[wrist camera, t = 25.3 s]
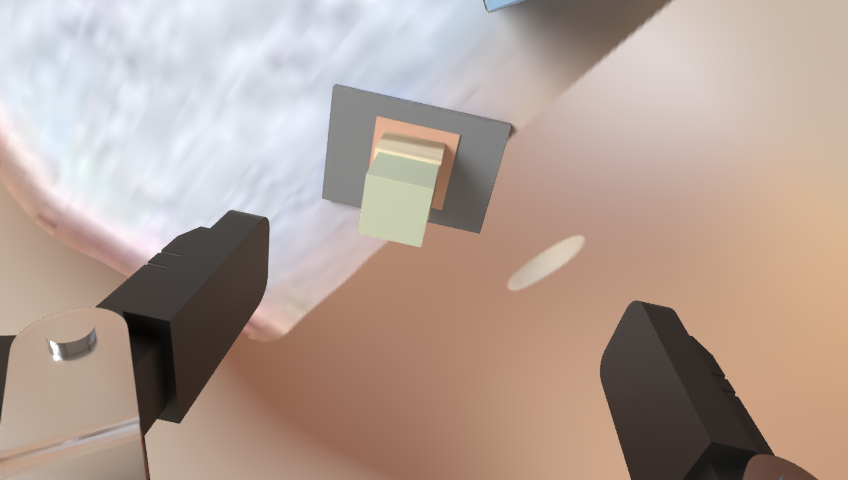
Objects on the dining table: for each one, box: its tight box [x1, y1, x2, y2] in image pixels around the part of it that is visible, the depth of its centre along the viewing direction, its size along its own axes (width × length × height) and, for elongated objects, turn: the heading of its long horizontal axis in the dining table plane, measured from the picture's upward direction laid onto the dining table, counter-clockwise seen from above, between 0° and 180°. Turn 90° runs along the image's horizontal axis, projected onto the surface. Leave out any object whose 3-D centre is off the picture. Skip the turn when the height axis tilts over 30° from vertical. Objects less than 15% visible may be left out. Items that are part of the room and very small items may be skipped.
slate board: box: [322, 84, 511, 233], centre depth 44 cm, size 11×16×1 cm
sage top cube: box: [358, 152, 439, 247], centre depth 37 cm, size 5×5×5 cm
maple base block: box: [373, 130, 445, 221], centre depth 42 cm, size 6×6×5 cm
